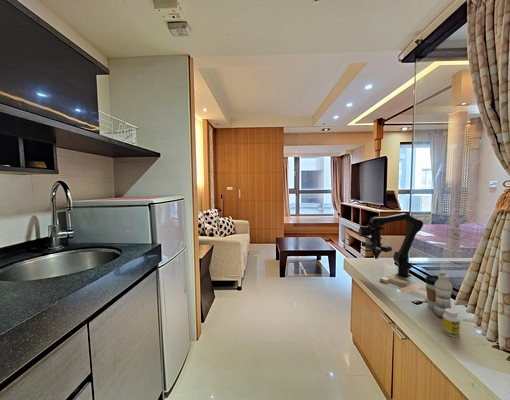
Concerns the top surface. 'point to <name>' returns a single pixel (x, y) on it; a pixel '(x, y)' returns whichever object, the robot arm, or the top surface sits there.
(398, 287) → the grey flat panel
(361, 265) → the top surface
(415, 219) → the robot arm
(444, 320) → the supplement bottle
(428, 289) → the coffee cup
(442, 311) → the plastic bottle
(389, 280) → the oak T block
